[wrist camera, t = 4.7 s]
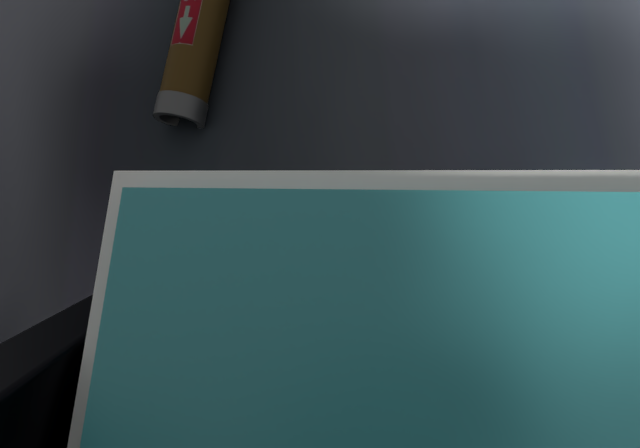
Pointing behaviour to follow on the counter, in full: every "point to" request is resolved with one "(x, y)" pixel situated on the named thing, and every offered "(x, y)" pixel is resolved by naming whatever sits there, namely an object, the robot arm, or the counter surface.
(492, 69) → the counter surface
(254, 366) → the panel
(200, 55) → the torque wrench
